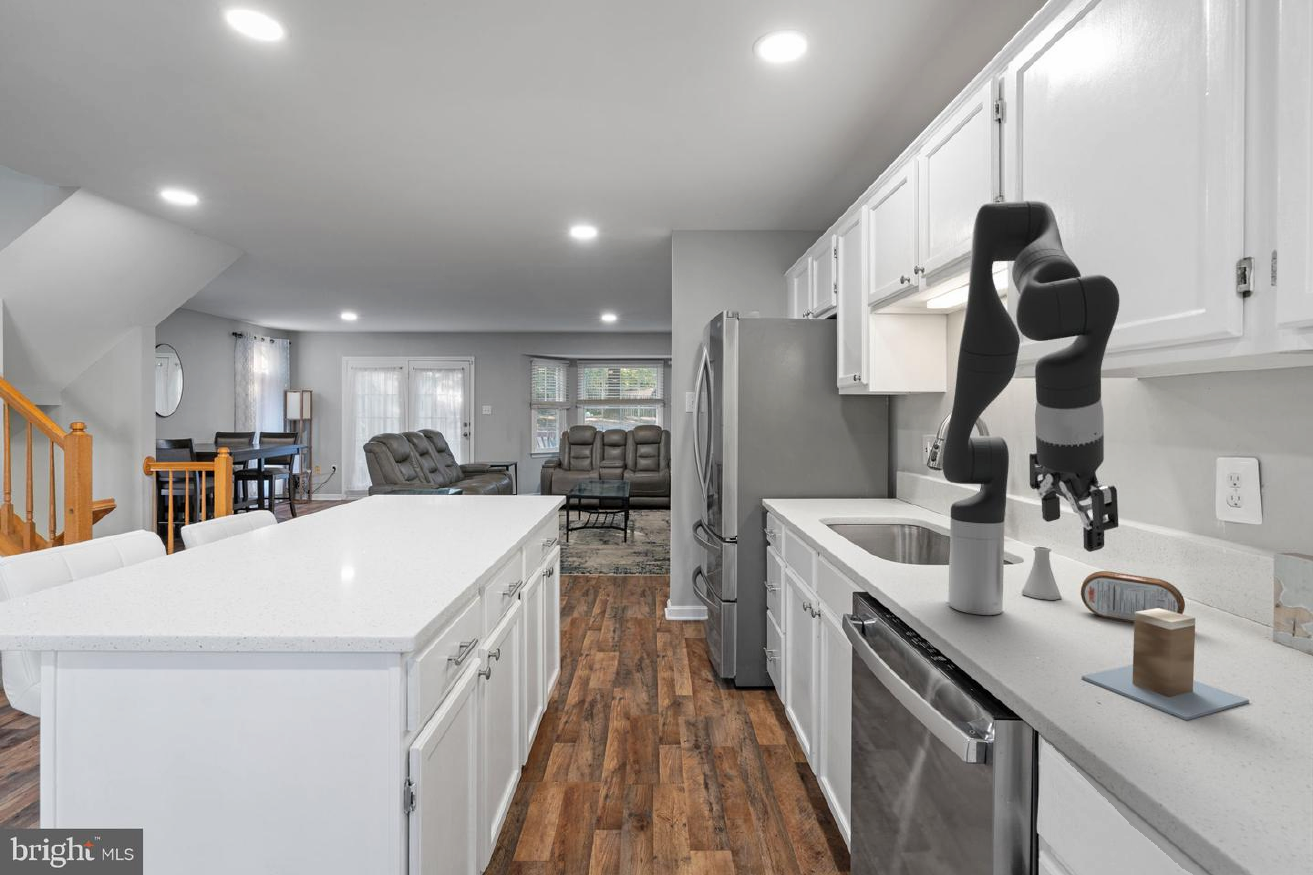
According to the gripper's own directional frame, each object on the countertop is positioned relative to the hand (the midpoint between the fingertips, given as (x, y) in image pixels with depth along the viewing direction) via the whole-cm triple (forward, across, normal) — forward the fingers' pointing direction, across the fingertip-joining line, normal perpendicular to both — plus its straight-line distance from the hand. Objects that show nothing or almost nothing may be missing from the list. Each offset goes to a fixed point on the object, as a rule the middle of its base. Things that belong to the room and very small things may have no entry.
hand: (1071, 533), depth 89 cm
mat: (+20, -11, -4) cm, 23 cm away
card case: (+20, -11, -4) cm, 23 cm away
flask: (+37, +30, -14) cm, 50 cm away
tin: (+34, +14, -20) cm, 42 cm away
